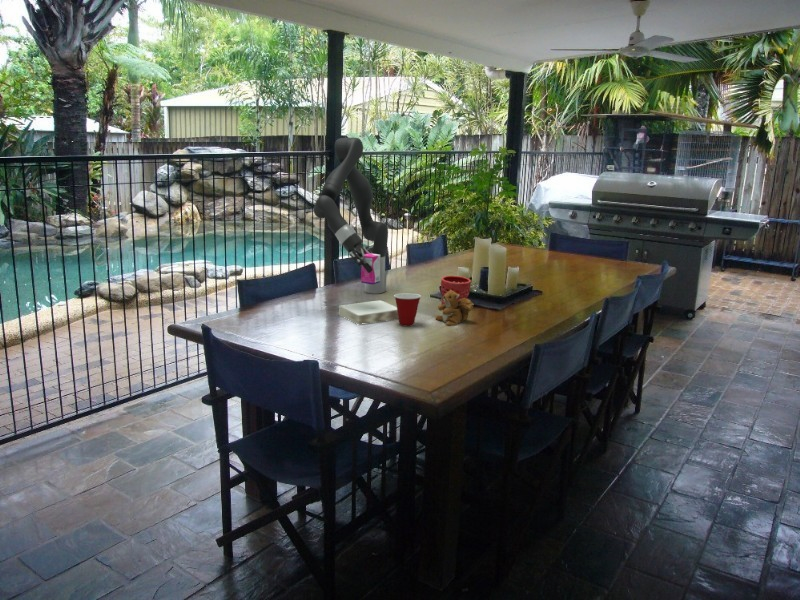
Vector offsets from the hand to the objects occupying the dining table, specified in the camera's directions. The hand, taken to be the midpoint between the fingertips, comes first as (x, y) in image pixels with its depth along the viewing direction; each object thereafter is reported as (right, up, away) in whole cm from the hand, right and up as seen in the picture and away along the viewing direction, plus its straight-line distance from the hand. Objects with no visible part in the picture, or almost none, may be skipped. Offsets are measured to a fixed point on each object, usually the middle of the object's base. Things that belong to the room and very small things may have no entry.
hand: (374, 269), depth 263 cm
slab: (-2, -19, +5) cm, 20 cm away
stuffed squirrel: (+32, -21, +3) cm, 39 cm away
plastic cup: (+13, -22, -2) cm, 25 cm away
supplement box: (-2, -5, +2) cm, 6 cm away
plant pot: (+35, -14, +29) cm, 48 cm away
